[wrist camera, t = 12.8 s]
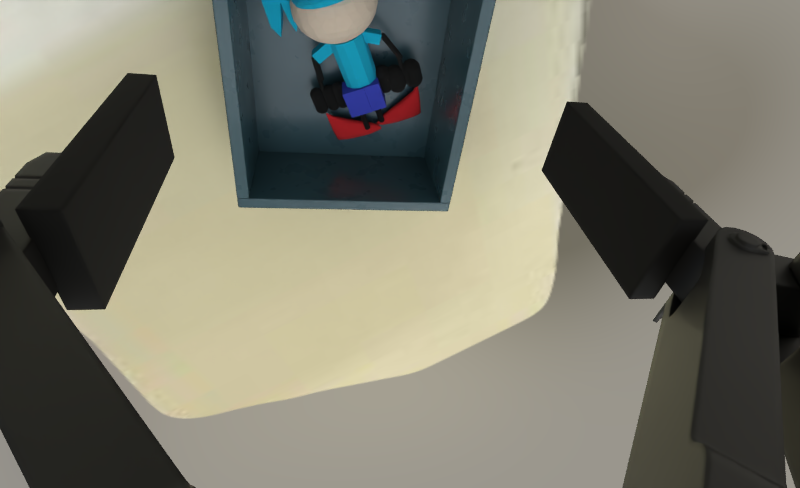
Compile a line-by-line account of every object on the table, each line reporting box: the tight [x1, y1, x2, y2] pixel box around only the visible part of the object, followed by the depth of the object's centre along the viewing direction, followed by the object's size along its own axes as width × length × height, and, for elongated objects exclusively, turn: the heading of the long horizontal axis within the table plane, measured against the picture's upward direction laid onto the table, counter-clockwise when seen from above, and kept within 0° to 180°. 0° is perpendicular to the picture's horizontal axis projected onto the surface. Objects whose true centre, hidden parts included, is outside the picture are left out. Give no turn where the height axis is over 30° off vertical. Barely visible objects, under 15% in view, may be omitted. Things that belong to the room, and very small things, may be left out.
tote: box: [212, 0, 496, 211], centre depth 25 cm, size 20×13×7 cm, turn 173°
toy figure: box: [261, 0, 423, 140], centre depth 26 cm, size 8×5×15 cm
